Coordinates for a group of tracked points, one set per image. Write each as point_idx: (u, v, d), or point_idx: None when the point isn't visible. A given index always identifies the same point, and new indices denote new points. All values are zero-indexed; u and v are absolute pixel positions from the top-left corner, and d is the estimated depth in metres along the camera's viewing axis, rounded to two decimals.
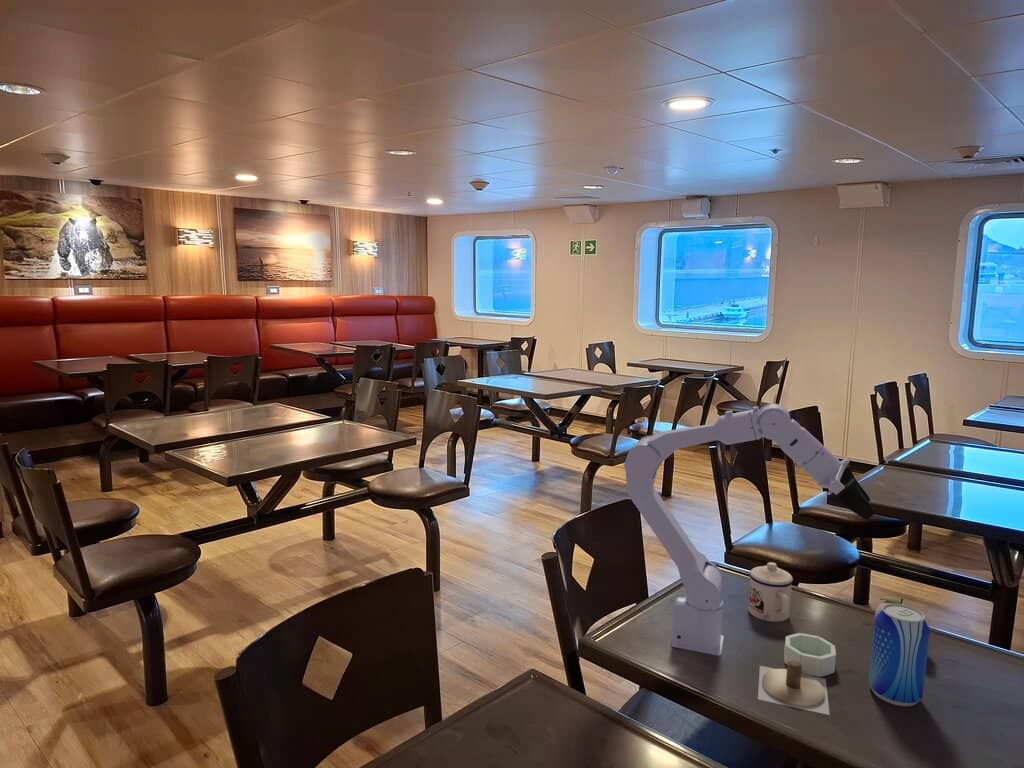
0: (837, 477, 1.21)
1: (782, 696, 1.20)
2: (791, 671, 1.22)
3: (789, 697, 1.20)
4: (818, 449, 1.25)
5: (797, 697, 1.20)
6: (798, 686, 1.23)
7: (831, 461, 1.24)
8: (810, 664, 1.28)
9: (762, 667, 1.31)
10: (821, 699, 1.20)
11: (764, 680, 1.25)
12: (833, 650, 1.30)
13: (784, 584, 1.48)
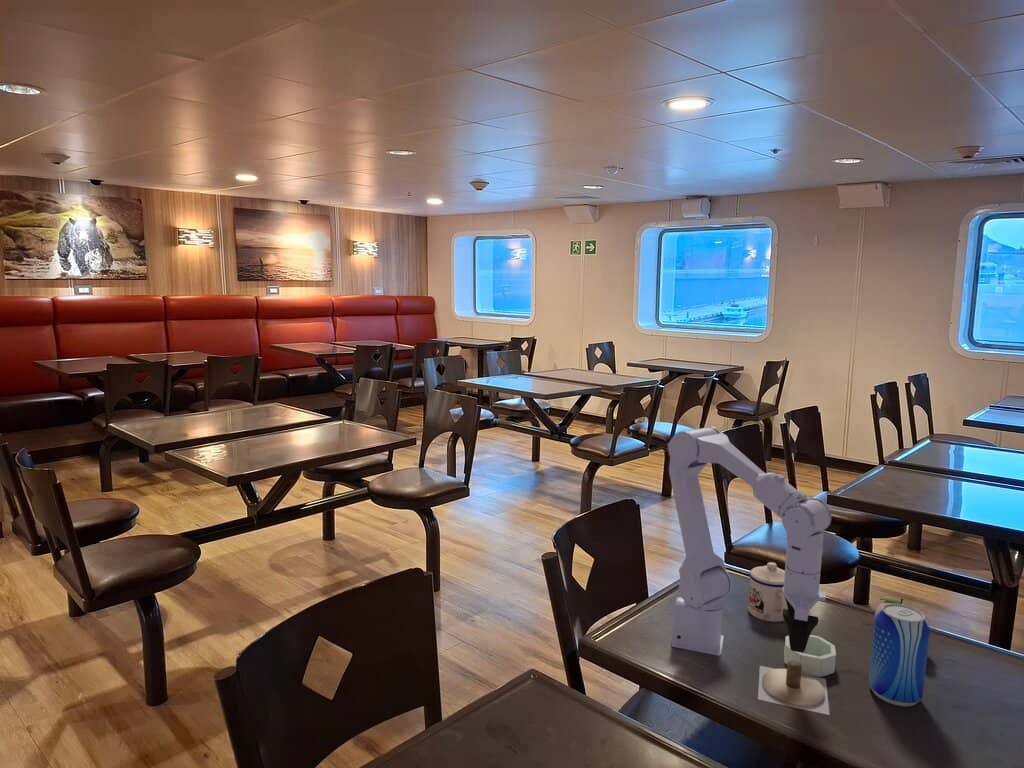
0: (809, 607, 1.15)
1: (782, 696, 1.20)
2: (791, 671, 1.22)
3: (789, 697, 1.20)
4: (807, 572, 1.18)
5: (797, 697, 1.20)
6: (798, 686, 1.23)
7: (814, 588, 1.18)
8: (810, 664, 1.28)
9: (762, 667, 1.31)
10: (821, 699, 1.20)
11: (764, 680, 1.25)
12: (833, 650, 1.30)
13: None
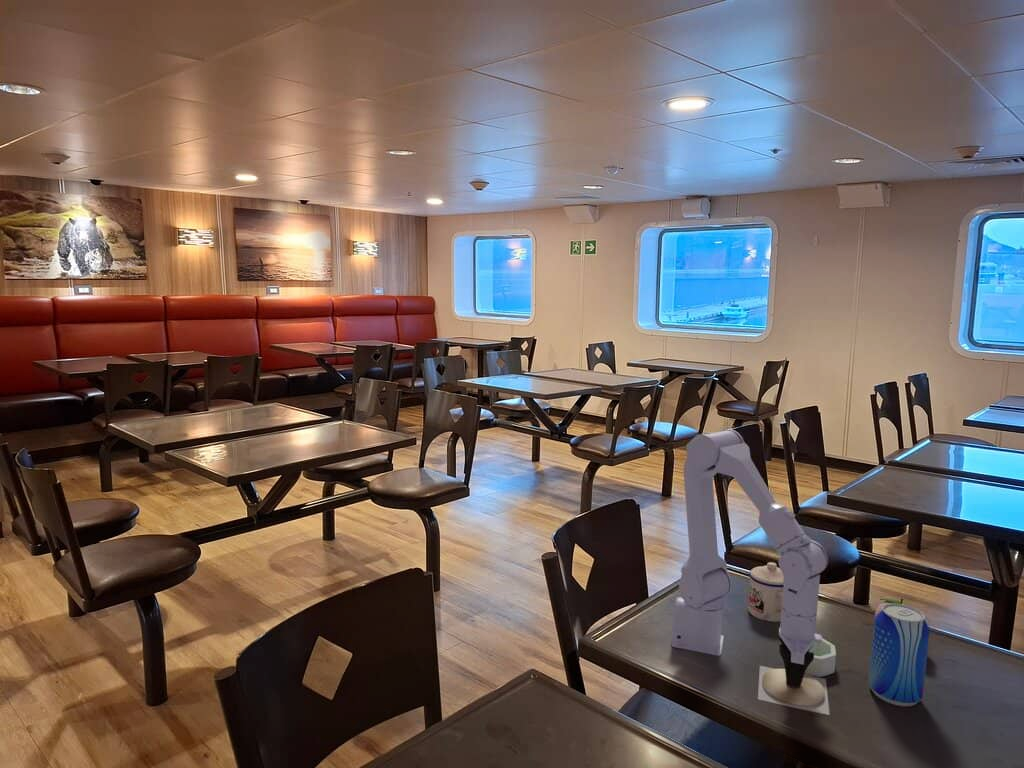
0: (805, 650, 1.17)
1: (782, 696, 1.20)
2: None
3: (789, 697, 1.20)
4: (803, 615, 1.19)
5: (797, 697, 1.20)
6: None
7: (810, 631, 1.19)
8: (810, 664, 1.28)
9: (762, 667, 1.31)
10: (821, 699, 1.20)
11: (764, 680, 1.25)
12: (833, 650, 1.30)
13: None
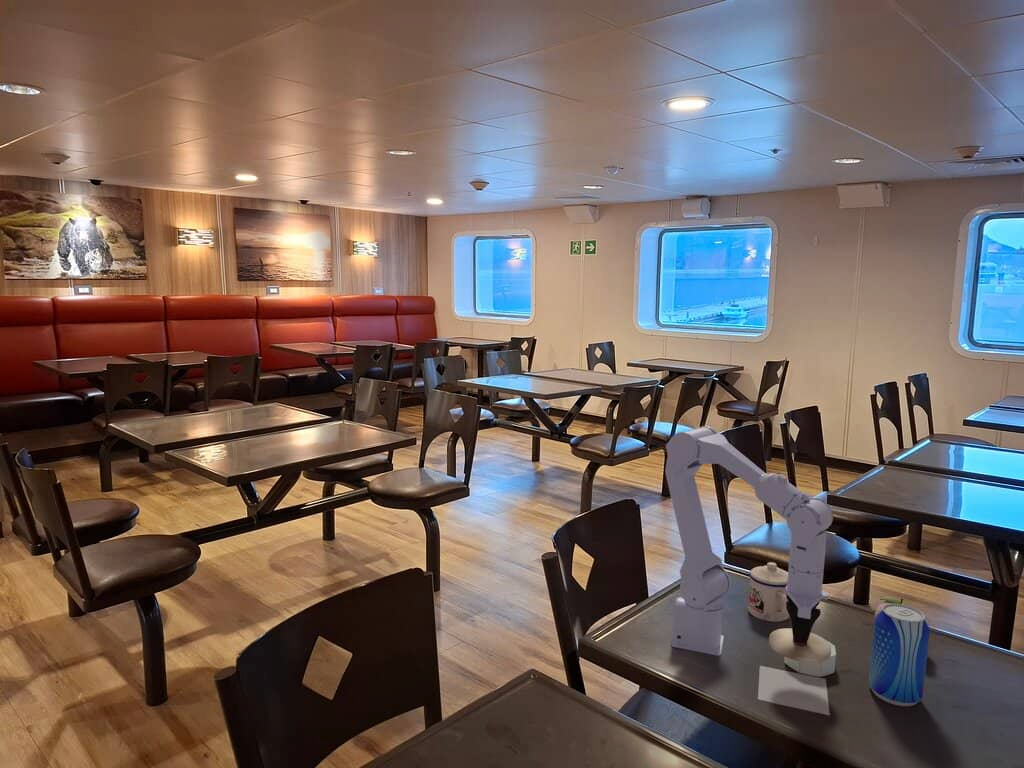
0: (812, 606, 1.17)
1: (789, 653, 1.21)
2: None
3: (796, 653, 1.21)
4: (812, 571, 1.20)
5: (804, 653, 1.21)
6: None
7: (817, 587, 1.20)
8: (810, 664, 1.28)
9: (762, 667, 1.31)
10: (828, 655, 1.21)
11: (771, 638, 1.26)
12: (833, 650, 1.30)
13: (784, 584, 1.48)
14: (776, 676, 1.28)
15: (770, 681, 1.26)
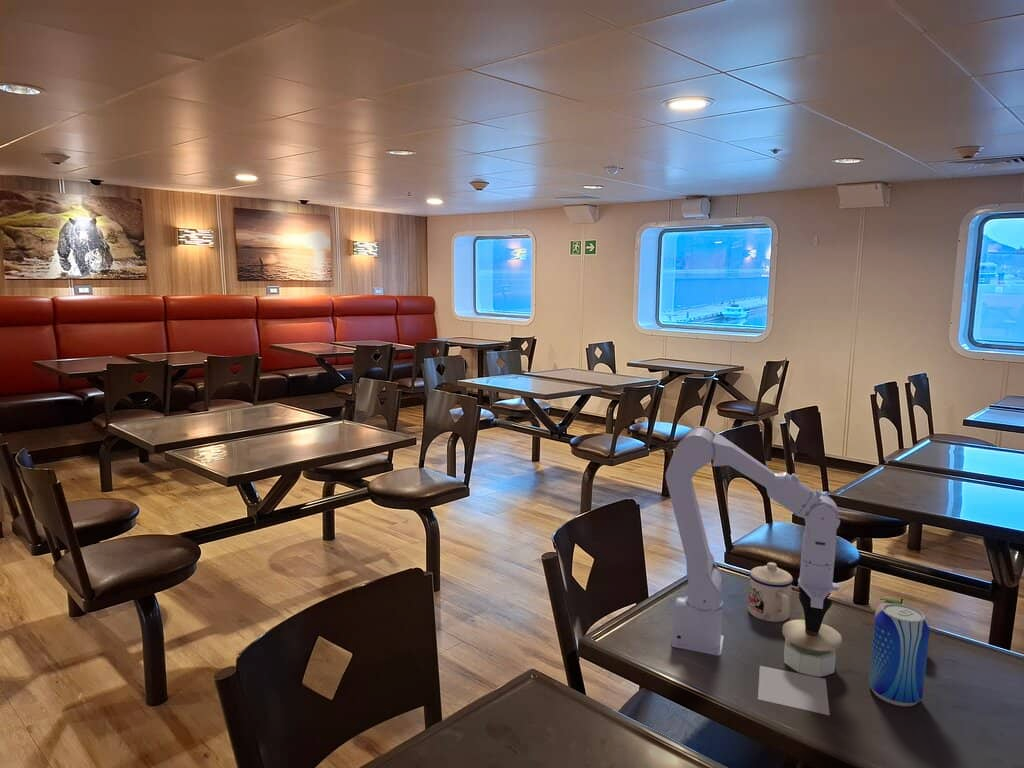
0: (824, 596, 1.24)
1: (803, 642, 1.28)
2: None
3: (809, 643, 1.28)
4: (830, 563, 1.27)
5: (817, 643, 1.28)
6: (817, 633, 1.30)
7: (828, 579, 1.27)
8: (810, 664, 1.28)
9: (762, 667, 1.31)
10: (839, 644, 1.28)
11: (784, 629, 1.33)
12: (833, 650, 1.30)
13: (784, 584, 1.48)
14: (776, 676, 1.28)
15: (770, 681, 1.26)
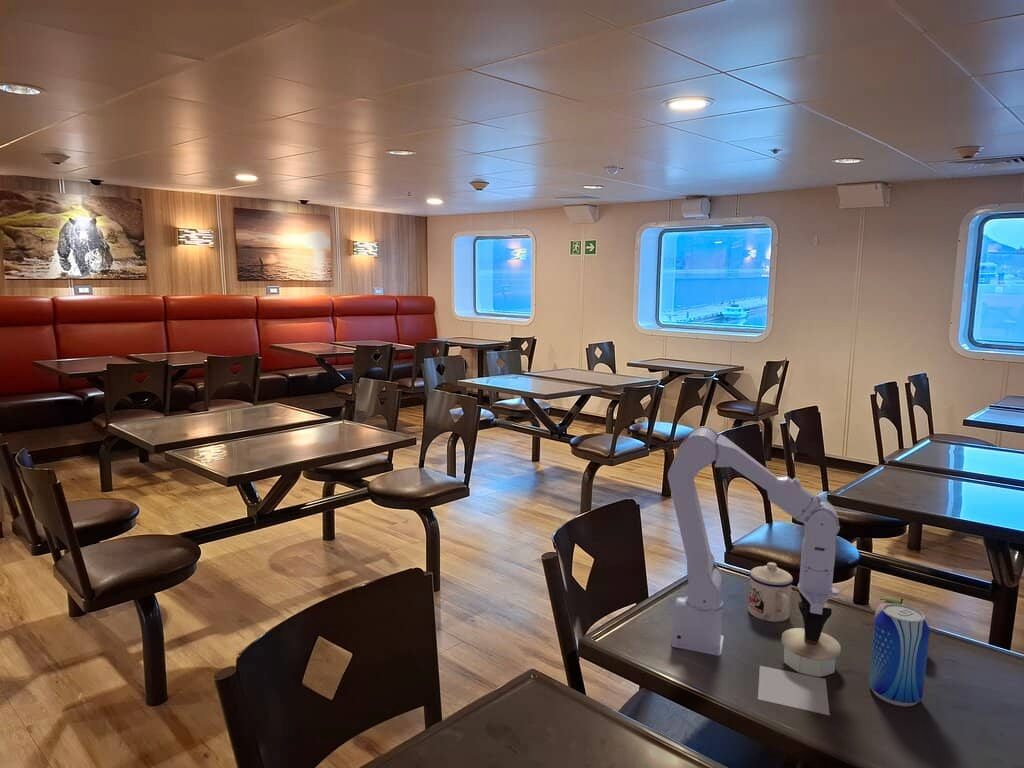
0: (823, 602, 1.25)
1: (802, 651, 1.28)
2: None
3: (808, 652, 1.28)
4: (829, 569, 1.27)
5: (816, 652, 1.28)
6: (816, 642, 1.31)
7: (828, 584, 1.27)
8: (810, 664, 1.28)
9: (762, 667, 1.31)
10: (838, 653, 1.28)
11: (784, 637, 1.33)
12: None
13: (784, 584, 1.48)
14: (776, 676, 1.28)
15: (770, 681, 1.26)
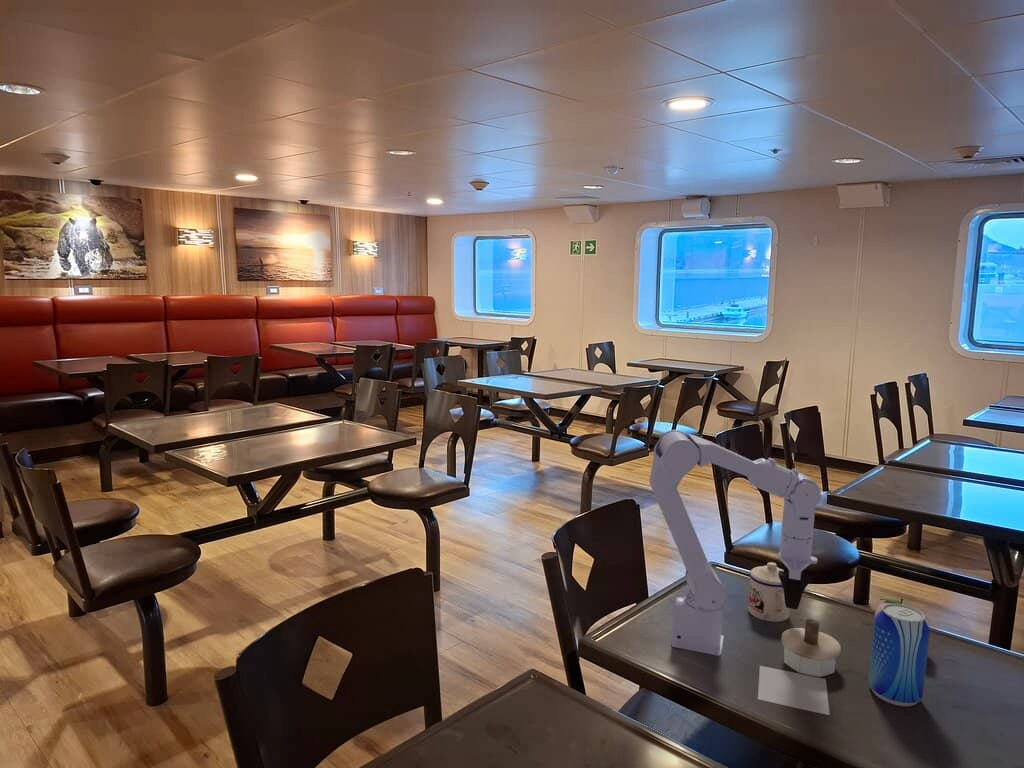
0: (801, 568, 1.30)
1: (802, 651, 1.28)
2: (809, 628, 1.30)
3: (808, 652, 1.28)
4: (811, 536, 1.33)
5: (816, 652, 1.28)
6: (816, 642, 1.31)
7: (807, 552, 1.33)
8: (810, 664, 1.28)
9: (762, 667, 1.31)
10: (838, 653, 1.28)
11: (784, 637, 1.33)
12: None
13: None
14: (776, 676, 1.28)
15: (770, 681, 1.26)
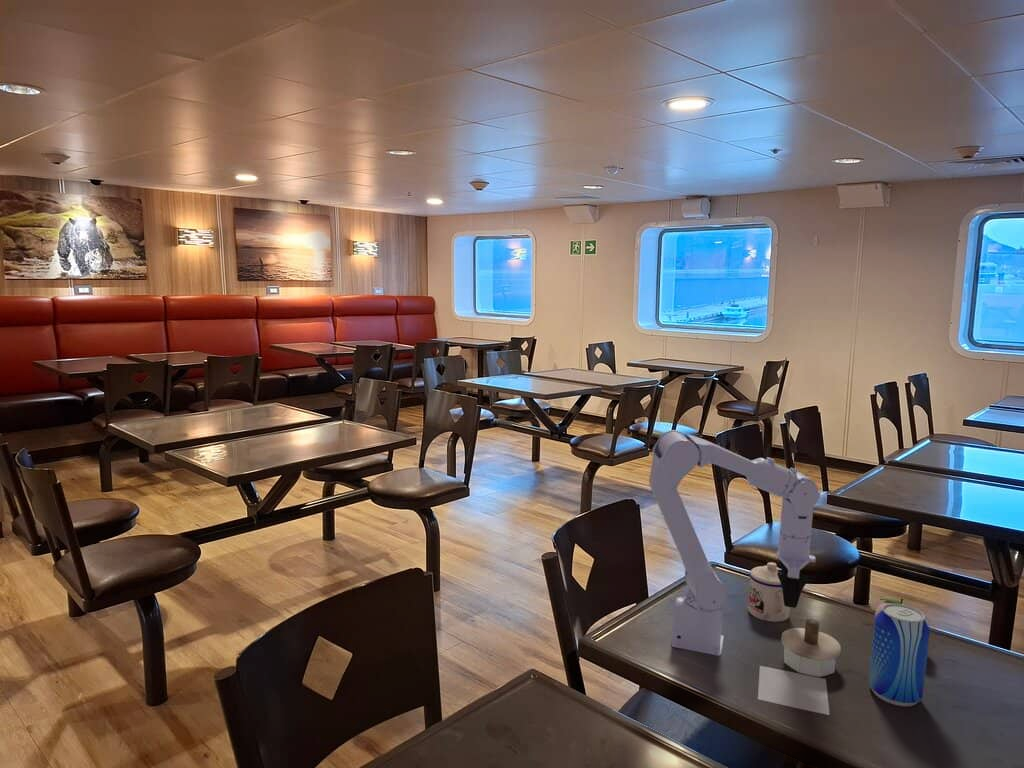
0: (800, 567, 1.31)
1: (802, 651, 1.28)
2: (809, 628, 1.30)
3: (808, 652, 1.28)
4: (809, 535, 1.34)
5: (816, 652, 1.28)
6: (816, 642, 1.31)
7: (805, 551, 1.34)
8: (810, 664, 1.28)
9: (762, 667, 1.31)
10: (838, 653, 1.28)
11: (784, 637, 1.33)
12: None
13: None
14: (776, 676, 1.28)
15: (770, 681, 1.26)
